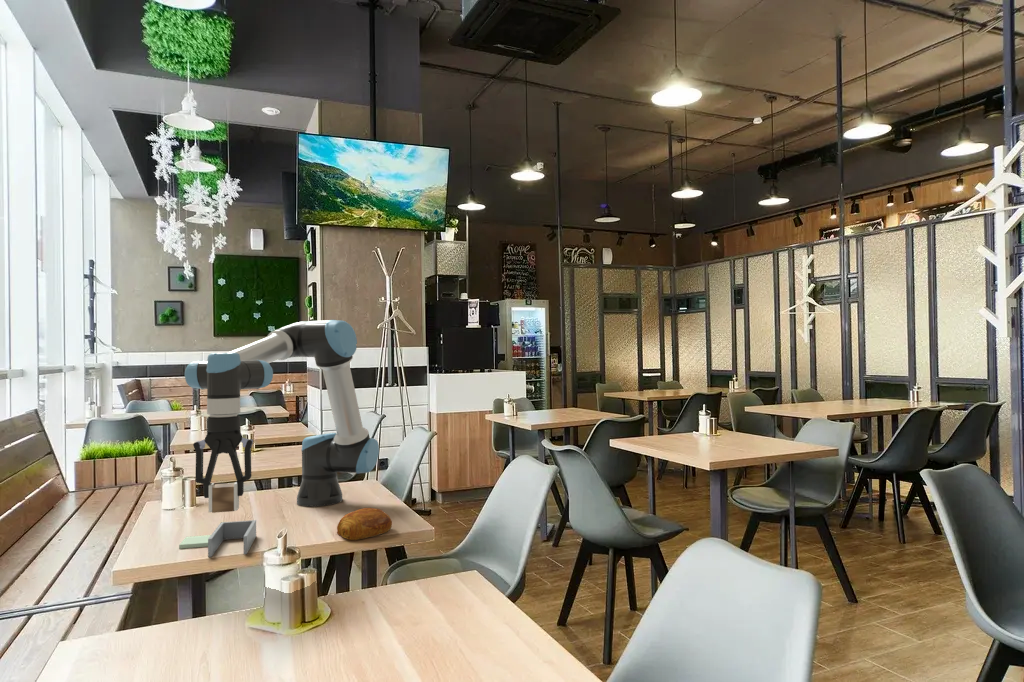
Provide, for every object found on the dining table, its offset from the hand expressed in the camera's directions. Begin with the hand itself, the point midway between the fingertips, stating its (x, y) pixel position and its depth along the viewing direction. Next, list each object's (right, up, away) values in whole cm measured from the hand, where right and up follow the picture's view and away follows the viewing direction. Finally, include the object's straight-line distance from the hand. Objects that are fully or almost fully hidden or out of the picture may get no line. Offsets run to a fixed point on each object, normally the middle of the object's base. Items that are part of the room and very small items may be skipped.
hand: (224, 510), depth 159 cm
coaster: (-14, -13, +16) cm, 25 cm away
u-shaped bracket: (-3, -13, +13) cm, 18 cm away
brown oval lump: (+29, -13, +24) cm, 40 cm away
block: (0, 0, +1) cm, 2 cm away
